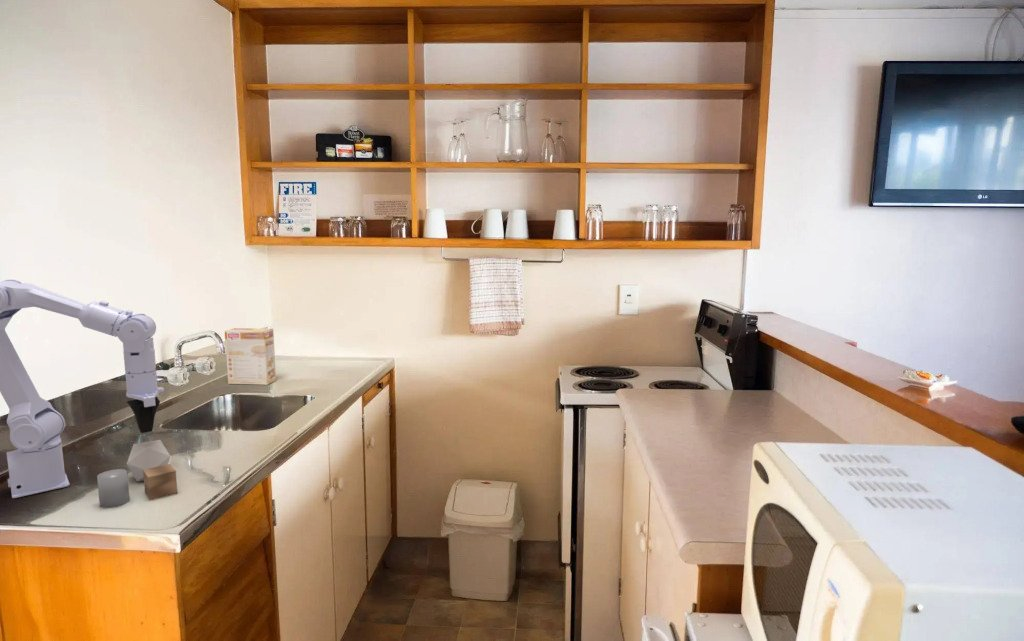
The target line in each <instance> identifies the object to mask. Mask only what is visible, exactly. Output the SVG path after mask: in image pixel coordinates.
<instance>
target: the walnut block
mask: <svg viewBox="0 0 1024 641" xmlns="http://www.w3.org/2000/svg"><path fill="white" fill-rule="evenodd" d="M143 476H144V480H143V485H144V486H143V487H144V493H145V494H146V496H147V498H148V500H149V501H152V500H156V499H161V498H165V497H169V496H173V495H177V494H178V486H177V485H178V484H177V482H178V481H177V471H176V469H175V468H174V467H173V466H172V465H171V463H168V464H167V465H163V466H158V467H154V468H149V469H145V470H143Z"/></svg>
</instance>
